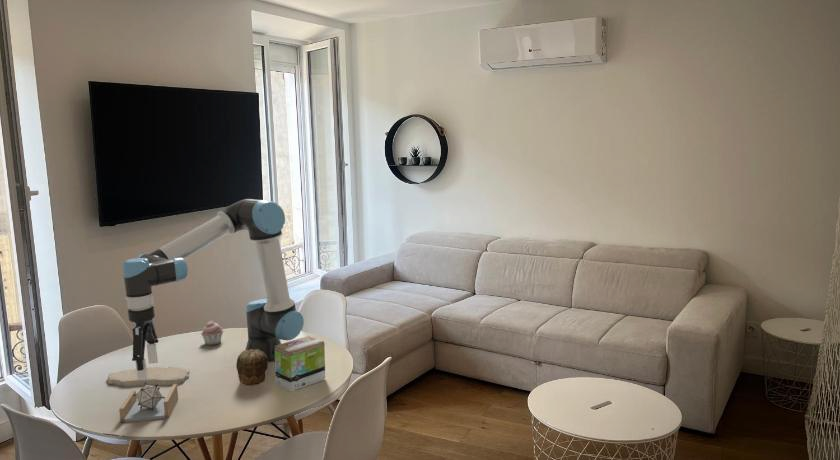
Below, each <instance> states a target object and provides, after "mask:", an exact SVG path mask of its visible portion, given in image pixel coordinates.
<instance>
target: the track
mask: <svg viewBox="0 0 840 460" xmlns="http://www.w3.org/2000/svg"><path fill="white" fill-rule="evenodd" d="M134 394H135V395H136V394H137V391H136V390H131V391H130V393H128V395H127V397H126V398H125V400H124V401H123V403H122V404H121V405H120V407H119V408H118V409H119V419H120V423H129V422H142V421H152V420H162V419H170V417H171V416H172V413H173V411H174V409H175V407H176V405H177V403H178V401H179V393H178V384H173V385H171V388H170V390H169V391H168V393H167V395H166V397H165V398H162V399H161V400H160V401H159V402H158V403H157V404H156V405H155V406H154V407H153V411H152V409H151V408H145V407H142V408H141V409H140V407H141V405H138V404H139V402H138V400H137V398H136V396H133V395H134Z"/></svg>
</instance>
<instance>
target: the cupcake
mask: <svg viewBox="0 0 840 460" xmlns="http://www.w3.org/2000/svg"><path fill="white" fill-rule="evenodd" d="M224 331H225V330H223V327H222V326H221V325H220V324H219V323H217V322H214V321H213V320H209V321H208V322H207V323H206V324H205V326H204V327H203V328H202V331H201V333H200V335H201V336H202V339H203V341H204V344H205V345H206V346H215V345H219V344H220V343H221V342H222V337H223V333H224Z"/></svg>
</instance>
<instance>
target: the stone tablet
mask: <svg viewBox="0 0 840 460" xmlns="http://www.w3.org/2000/svg"><path fill="white" fill-rule="evenodd" d="M146 370H147V379H143V380H138V378H137V370H136V368H131V369H125V370H120V371H117V372H111V373H109V375H108V376H107V383H108V385H115V386H120V387H121V386H122V387H137V386H139V387H141V386H145V382H146V384H147V385H153V386H156V384H158V386H173V384H177V385H179V384H180V385H181V384H183V383H185V381H186V380H188V379H189V378H190V374H191V372H190V370H189V369H185V368H183V367H180V366H179V367H177V366H168V367H165V366H162V367H160V366H159V367H158V366H156V367H155V366H153V367H146Z"/></svg>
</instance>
